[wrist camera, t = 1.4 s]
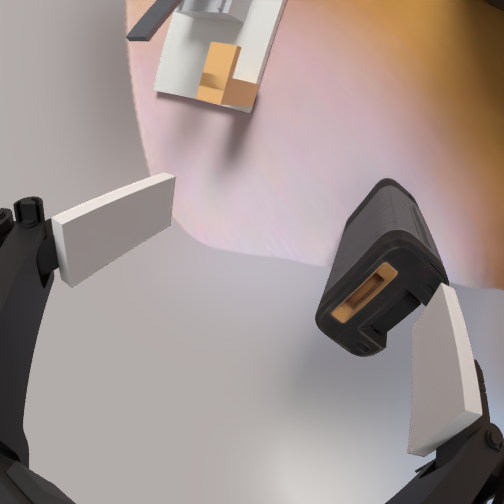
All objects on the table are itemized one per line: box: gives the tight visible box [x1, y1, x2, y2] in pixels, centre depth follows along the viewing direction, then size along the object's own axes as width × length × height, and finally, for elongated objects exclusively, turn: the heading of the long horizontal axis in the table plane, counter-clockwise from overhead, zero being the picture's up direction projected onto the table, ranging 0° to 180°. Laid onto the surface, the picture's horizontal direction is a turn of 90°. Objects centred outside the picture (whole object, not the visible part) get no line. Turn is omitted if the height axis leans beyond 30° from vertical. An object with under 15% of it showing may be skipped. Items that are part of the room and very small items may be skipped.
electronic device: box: [315, 178, 449, 357], centre depth 26 cm, size 9×6×20 cm, turn 149°
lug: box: [196, 42, 259, 107], centre depth 28 cm, size 6×3×8 cm, turn 164°
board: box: [153, 0, 287, 113], centre depth 27 cm, size 24×16×8 cm, turn 164°
